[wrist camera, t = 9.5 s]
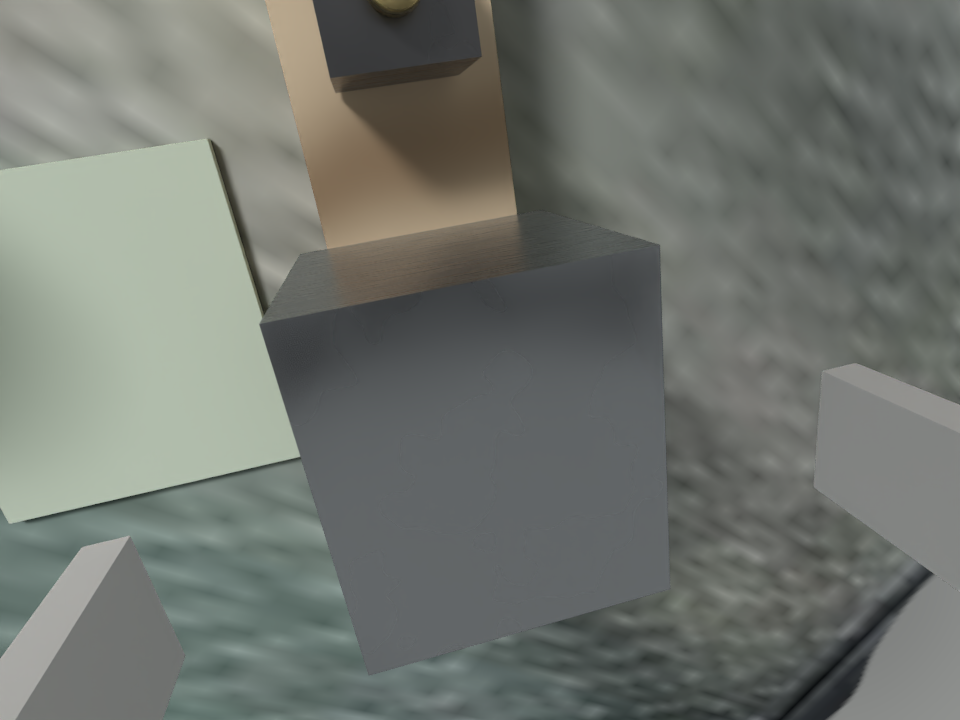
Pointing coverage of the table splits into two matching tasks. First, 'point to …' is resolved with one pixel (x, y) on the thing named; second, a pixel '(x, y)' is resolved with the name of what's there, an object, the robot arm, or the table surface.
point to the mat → (127, 332)
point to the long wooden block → (396, 139)
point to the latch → (396, 40)
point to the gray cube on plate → (479, 426)
